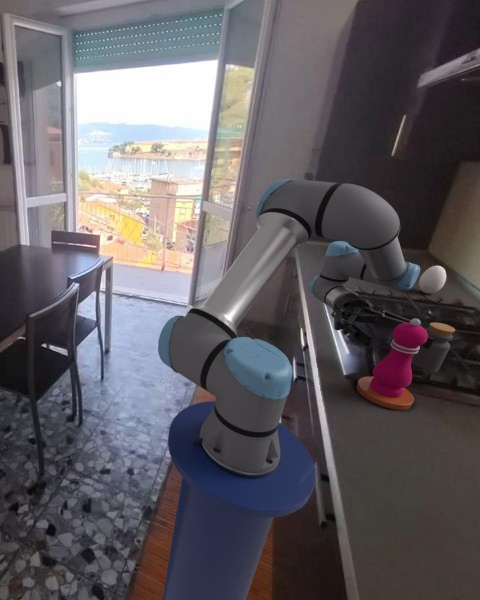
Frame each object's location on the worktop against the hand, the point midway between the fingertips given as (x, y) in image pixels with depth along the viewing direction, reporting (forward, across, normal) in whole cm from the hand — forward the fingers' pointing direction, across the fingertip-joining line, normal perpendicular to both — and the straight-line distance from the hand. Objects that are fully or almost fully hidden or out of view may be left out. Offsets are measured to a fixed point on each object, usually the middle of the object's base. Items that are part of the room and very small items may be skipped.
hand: (399, 342), depth 84 cm
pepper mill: (+2, 0, -13) cm, 13 cm away
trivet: (+2, 0, -14) cm, 14 cm away
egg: (-66, -60, -14) cm, 91 cm away
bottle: (-8, -15, -14) cm, 22 cm away
